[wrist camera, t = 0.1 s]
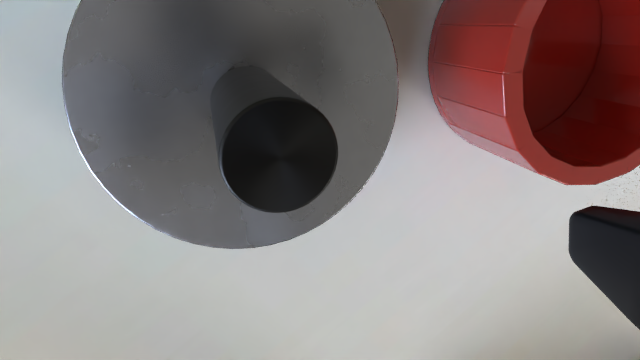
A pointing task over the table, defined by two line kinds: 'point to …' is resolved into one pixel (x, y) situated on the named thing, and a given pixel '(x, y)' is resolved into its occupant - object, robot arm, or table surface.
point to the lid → (231, 111)
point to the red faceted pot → (542, 83)
